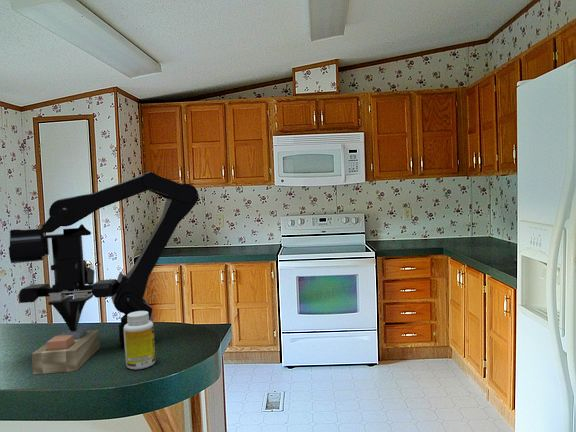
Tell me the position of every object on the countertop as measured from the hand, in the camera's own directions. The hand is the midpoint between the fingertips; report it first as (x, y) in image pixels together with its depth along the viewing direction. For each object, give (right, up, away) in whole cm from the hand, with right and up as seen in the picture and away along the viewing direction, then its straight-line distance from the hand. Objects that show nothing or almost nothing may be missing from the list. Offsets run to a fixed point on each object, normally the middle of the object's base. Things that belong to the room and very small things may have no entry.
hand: (73, 330), depth 92 cm
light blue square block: (0, -3, 0) cm, 3 cm away
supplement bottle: (+17, -5, -8) cm, 19 cm away
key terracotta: (+1, -3, -6) cm, 7 cm away
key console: (0, -5, -3) cm, 6 cm away
